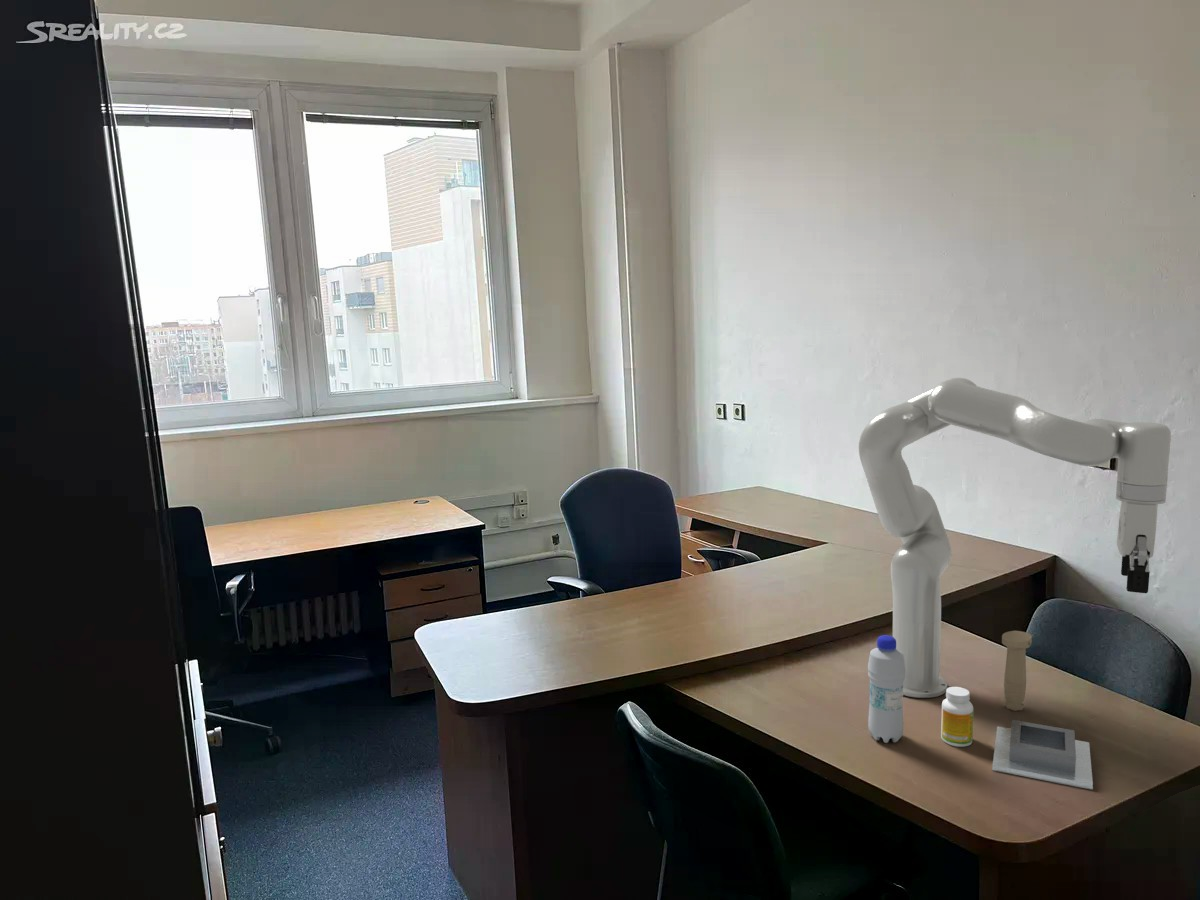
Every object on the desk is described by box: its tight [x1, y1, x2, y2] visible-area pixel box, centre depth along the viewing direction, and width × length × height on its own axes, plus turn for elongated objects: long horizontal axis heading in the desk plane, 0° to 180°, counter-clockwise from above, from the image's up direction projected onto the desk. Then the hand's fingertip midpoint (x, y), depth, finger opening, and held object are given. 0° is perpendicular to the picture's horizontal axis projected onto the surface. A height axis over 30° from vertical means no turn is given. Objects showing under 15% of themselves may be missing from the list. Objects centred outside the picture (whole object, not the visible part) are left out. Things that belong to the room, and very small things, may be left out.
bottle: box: [867, 634, 906, 744], centre depth 156 cm, size 7×7×20 cm
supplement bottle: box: [940, 686, 974, 748], centre depth 155 cm, size 5×5×10 cm
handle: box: [1001, 630, 1033, 712], centre depth 166 cm, size 5×6×15 cm
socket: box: [991, 719, 1094, 790], centre depth 148 cm, size 15×15×4 cm
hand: (1133, 583), depth 153 cm, fingers open, 9 cm apart
